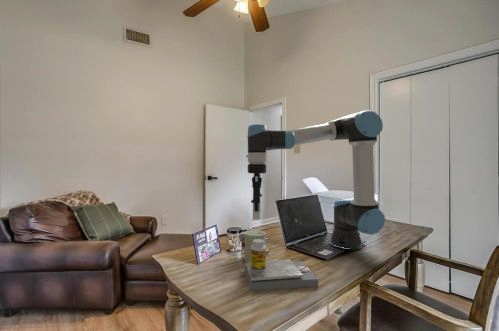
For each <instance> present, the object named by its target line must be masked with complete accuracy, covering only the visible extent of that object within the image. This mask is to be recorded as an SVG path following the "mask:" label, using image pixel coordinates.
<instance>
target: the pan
mask: <svg viewBox="0 0 499 331" xmlns="http://www.w3.org/2000/svg"><path fill="white" fill-rule="evenodd" d="M244 262H245V264H244V266H245V265H246V268H247V270H248V273H249V276H250V278H251V281H256V280H270V279H284V278H297V277H303V274H302V273H301V272H300V271H299V270H298V268H297V267H296V266H295V265H294V264H293V262H294V261H292V260H291V259H280V260H266V269H265V270H264V271H261V272H255V271H253V270H251V268H250V262H246V261H244Z"/></svg>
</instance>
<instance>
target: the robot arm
mask: <svg viewBox="0 0 499 331" xmlns="http://www.w3.org/2000/svg"><path fill="white" fill-rule="evenodd" d="M383 127H384V123H383V119H382V118H381V116H380V115H379V114H378V113H377V112H376V111H373V110H361V111H358V112H355V113H352V114H347V115H344V116H342V117H340V118H337V119H334V120H329V121H327V122H326V123H324V124H318V125H317V124H316V125H311V126H306V127H300V128H296V129H290V130H268V128H267V126H266V124H258V123H257V124H250V125H249V126H248V128H247V136H246V138H247V154H246V156H245V158H246V159H247V163H248V164H247V173H248V174H253V177H252V178H251V182H252V199H251V200H250V203H251V204H252V220H253V221H260V220H261V213H262V212H261V209H262V208H261V206H262V205H261V198H262V197H263V193H262V192H261V188H262V182H263V181H262V180H263V178H262V177H261V174H266V173H267V164H266V163H267V151H268V152H269V151H274V150H290V149H293V148H294V147H295V146H300V145H305V144H310V143H316V142H322V141H325V140H329V141H330V142H331V141H340V140H341V141H342V140H348V144H349V145H351V148H352V151H351V152H352V175H353V176H352V178H353V180H352V181H353V183H352V185H353V187H352V188H353V199H337V200H335V201H334V203H333V230H332V233H331V235H330V238H329V244H330V243H332V244H333V245H336V246H339V247H344V248H350V250H349V251H358V250H361V249H362V247H363V241H362V239H361V236H360V233H362V234H366V235H370V236H372V235H376V234H378V233H379V232H381V230H382V229H383V228H384V226H385V222H386V218H385V217H386V215H385V214H384V212H382V210H380V208H379V206H380V205H379V202H378V201H377V200H376V199H375V197H376V196H375V195H376V194H375V164H374V163H375V162H374V160H375V159H374V145H375V144H376V143H378V136H379V135H381V132H382V131H383ZM359 232H360V233H359Z"/></svg>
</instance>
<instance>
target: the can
mask: <svg viewBox="0 0 499 331" xmlns="http://www.w3.org/2000/svg"><path fill="white" fill-rule="evenodd" d="M255 239H262V240H264V245H265V246H266V232H265V231H264V230H260V229H250V230H245V231H244V257H243V259H244V262H250V254H251V246H252V245H253V240H255Z"/></svg>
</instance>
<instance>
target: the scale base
mask: <svg viewBox="0 0 499 331" xmlns="http://www.w3.org/2000/svg"><path fill="white" fill-rule="evenodd" d="M292 262H293V264H294V265H295V266H296V267H297V268H298V270H299V271H300V272H301V273H302V274H303V277H297V278H284V279H270V280H256V281H251V278H250V276H249V273H248V270H247V268H246V265H245V264H244V274H245V276H246V279H247V281H248V284H249V288H250V291H251V292H264V291H265V292H266V291H275V290H291V289H299V288H300V289H301V288H314V287H319V278H318V277H317V276H316V275H315V274H314V273H313V271H311V270H310V268H309V267H308V266H307V265H306V264H305V263H304V262H303V261H292Z"/></svg>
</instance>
